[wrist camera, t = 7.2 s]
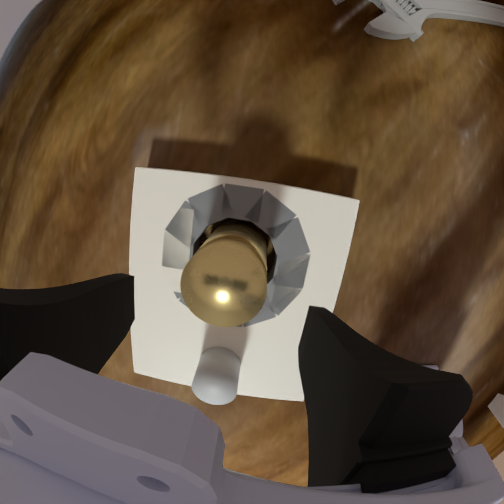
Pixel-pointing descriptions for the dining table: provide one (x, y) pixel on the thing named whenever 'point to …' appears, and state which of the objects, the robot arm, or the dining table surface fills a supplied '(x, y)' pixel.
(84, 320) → the robot arm
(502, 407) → the napkin holder
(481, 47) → the dining table surface
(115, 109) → the dining table surface
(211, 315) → the brass cylinder
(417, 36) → the adjustable wrench
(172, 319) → the board
